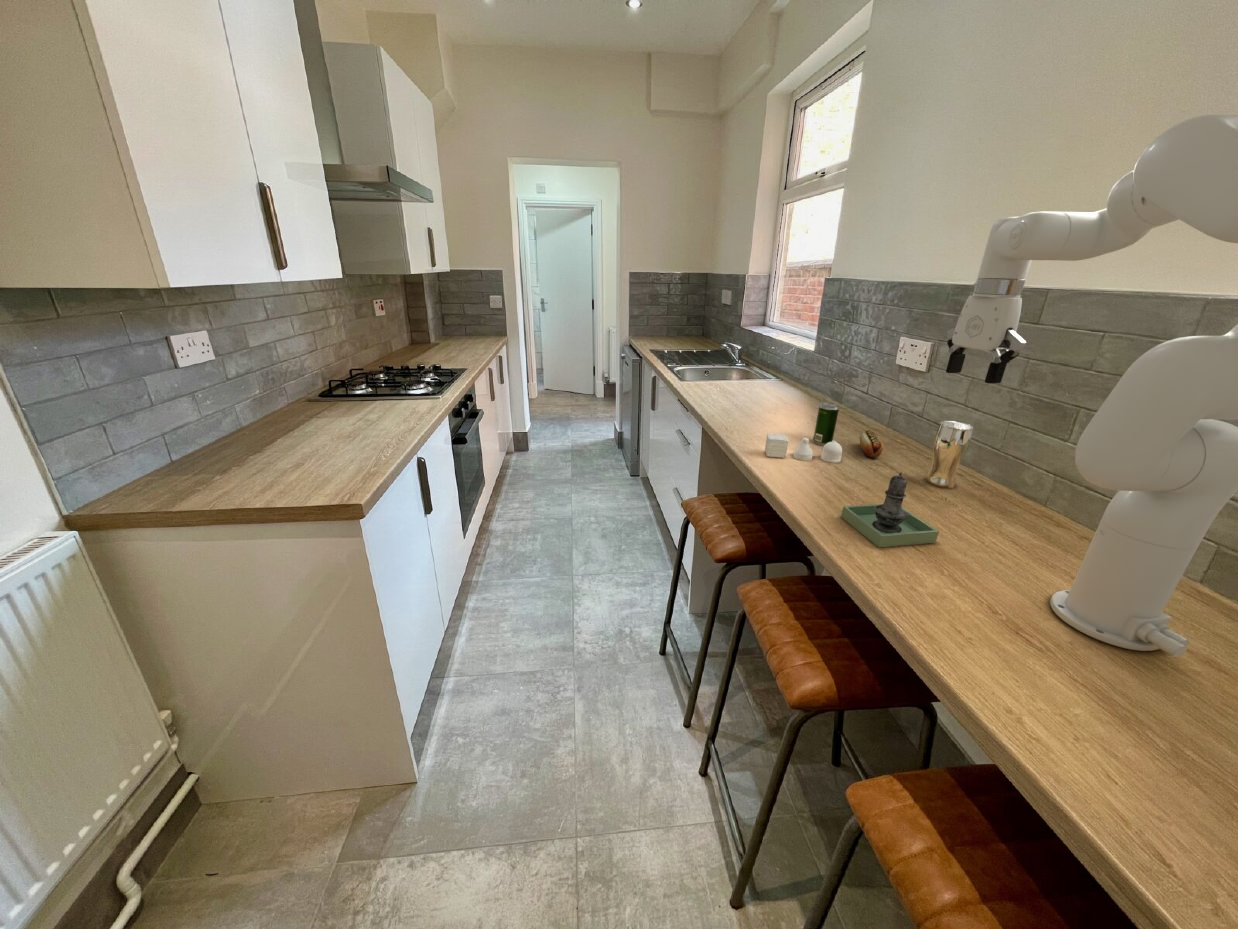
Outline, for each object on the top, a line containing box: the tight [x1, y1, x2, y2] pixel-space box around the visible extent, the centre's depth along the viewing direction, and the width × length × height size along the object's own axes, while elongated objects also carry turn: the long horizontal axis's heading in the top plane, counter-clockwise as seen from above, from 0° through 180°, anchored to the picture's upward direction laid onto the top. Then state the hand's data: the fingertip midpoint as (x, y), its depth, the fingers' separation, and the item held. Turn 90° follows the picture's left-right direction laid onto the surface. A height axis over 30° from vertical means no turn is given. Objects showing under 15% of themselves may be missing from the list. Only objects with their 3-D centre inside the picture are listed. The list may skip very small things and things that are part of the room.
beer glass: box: [925, 420, 974, 489], centre depth 118 cm, size 7×7×15 cm
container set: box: [764, 433, 843, 464], centre depth 134 cm, size 20×5×6 cm, turn 81°
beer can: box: [812, 401, 840, 447], centre depth 144 cm, size 5×5×12 cm
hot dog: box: [859, 430, 884, 458], centre depth 139 cm, size 5×13×5 cm, turn 163°
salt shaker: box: [872, 471, 908, 534], centre depth 96 cm, size 6×6×12 cm
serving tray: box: [840, 503, 940, 548], centre depth 98 cm, size 12×12×2 cm
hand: (971, 377), depth 100 cm, fingers open, 9 cm apart
